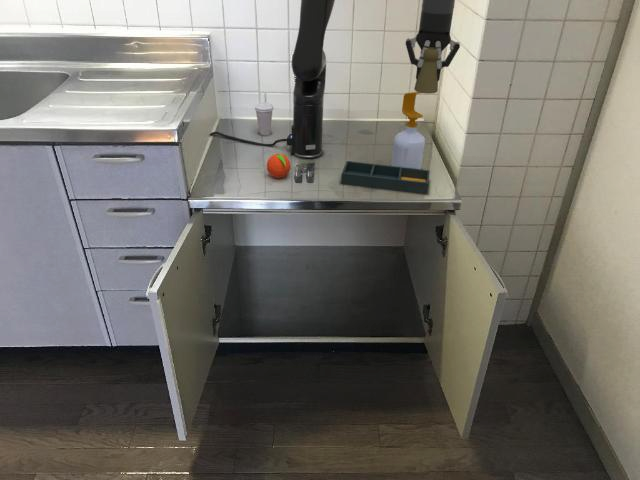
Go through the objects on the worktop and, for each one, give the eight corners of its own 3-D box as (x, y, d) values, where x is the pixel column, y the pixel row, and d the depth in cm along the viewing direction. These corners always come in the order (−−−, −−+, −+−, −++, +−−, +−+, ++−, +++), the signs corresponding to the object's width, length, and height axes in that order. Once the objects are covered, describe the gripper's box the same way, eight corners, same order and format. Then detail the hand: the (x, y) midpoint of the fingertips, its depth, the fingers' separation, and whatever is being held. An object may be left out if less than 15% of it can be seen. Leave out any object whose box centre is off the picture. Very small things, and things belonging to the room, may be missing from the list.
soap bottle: (402, 179, 149) (413, 97, 135) (385, 167, 155) (393, 87, 141) (426, 173, 152) (439, 93, 138) (408, 161, 159) (419, 84, 145)
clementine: (296, 180, 146) (296, 157, 142) (275, 185, 143) (275, 162, 139) (283, 169, 152) (283, 147, 148) (262, 174, 148) (262, 152, 144)
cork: (437, 94, 128) (444, 49, 122) (413, 92, 129) (419, 47, 123) (437, 87, 133) (444, 43, 127) (414, 85, 134) (420, 42, 128)
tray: (341, 183, 145) (341, 173, 143) (345, 170, 152) (346, 160, 150) (427, 194, 141) (428, 183, 139) (427, 180, 148) (429, 170, 146)
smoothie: (273, 137, 172) (272, 96, 164) (254, 136, 172) (252, 96, 164) (274, 130, 177) (274, 90, 170) (256, 129, 177) (255, 90, 169)
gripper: (406, 10, 118) (398, 84, 128) (468, 14, 116) (455, 88, 125) (408, 5, 124) (400, 75, 134) (466, 8, 122) (454, 80, 132)
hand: (427, 81), depth 129 cm, fingers closed on cork, 3 cm apart
